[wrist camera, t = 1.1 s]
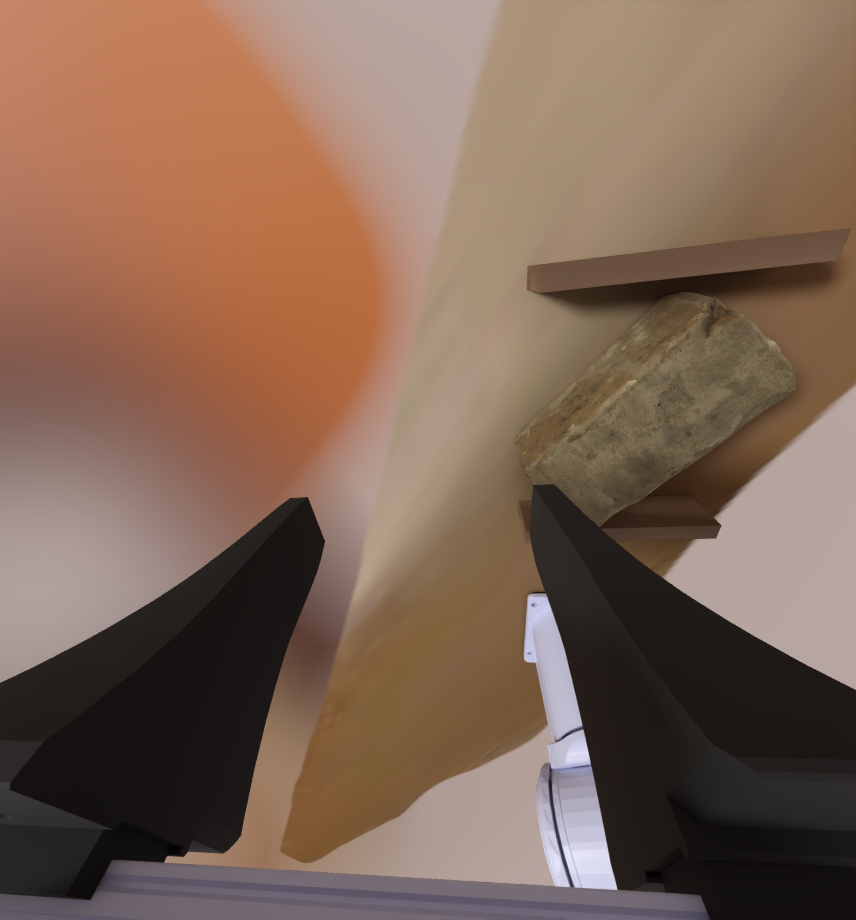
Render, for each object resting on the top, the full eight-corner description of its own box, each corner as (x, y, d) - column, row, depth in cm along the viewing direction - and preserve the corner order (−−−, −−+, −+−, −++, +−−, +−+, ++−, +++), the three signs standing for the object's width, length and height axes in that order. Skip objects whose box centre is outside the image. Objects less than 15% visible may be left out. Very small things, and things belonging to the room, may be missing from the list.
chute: (685, 506, 22) (715, 538, 20) (518, 512, 23) (525, 542, 21) (781, 235, 15) (851, 228, 12) (527, 265, 16) (541, 265, 13)
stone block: (734, 354, 17) (824, 383, 13) (564, 490, 23) (589, 543, 18) (665, 280, 16) (741, 285, 12) (501, 443, 21) (513, 488, 17)
